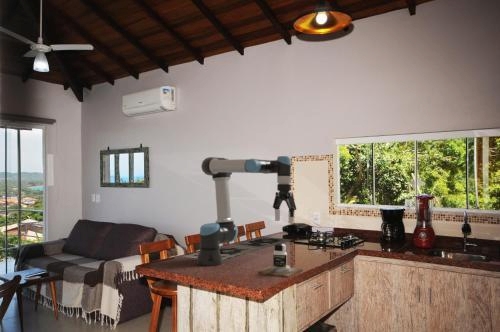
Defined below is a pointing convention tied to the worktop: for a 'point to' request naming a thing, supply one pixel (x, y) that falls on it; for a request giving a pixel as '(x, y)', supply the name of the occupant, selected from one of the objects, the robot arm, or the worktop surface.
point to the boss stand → (281, 271)
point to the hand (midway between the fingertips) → (284, 221)
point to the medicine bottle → (280, 256)
